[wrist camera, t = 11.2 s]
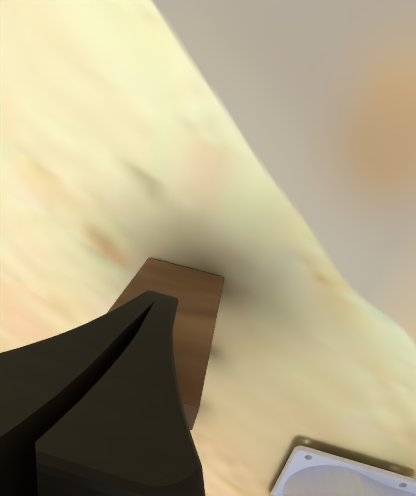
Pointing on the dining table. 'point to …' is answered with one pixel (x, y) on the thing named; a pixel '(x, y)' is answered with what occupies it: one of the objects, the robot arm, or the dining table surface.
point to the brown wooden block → (184, 321)
